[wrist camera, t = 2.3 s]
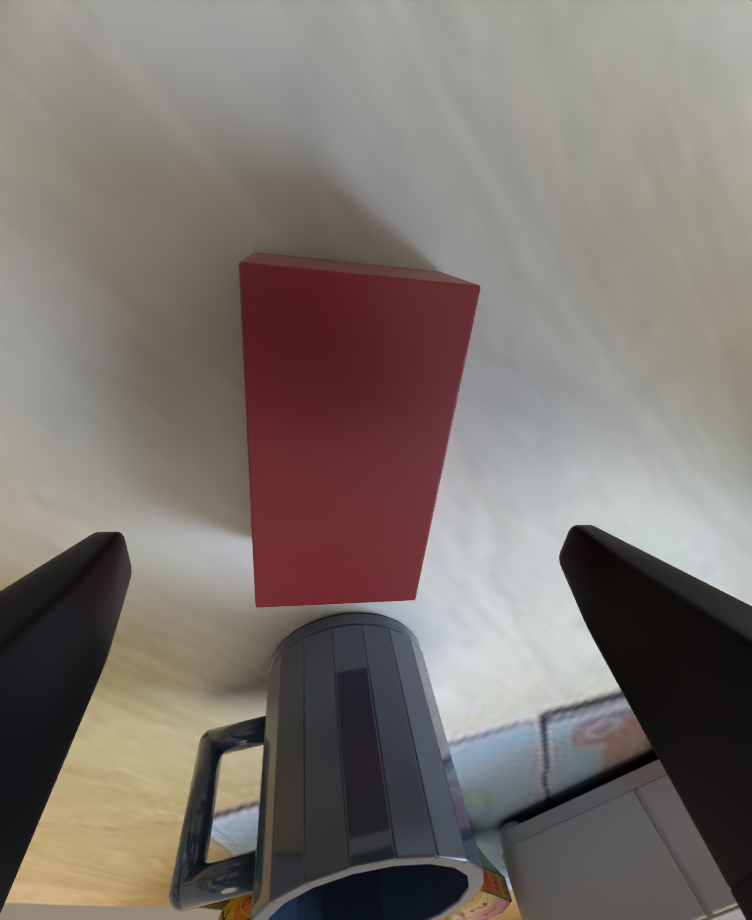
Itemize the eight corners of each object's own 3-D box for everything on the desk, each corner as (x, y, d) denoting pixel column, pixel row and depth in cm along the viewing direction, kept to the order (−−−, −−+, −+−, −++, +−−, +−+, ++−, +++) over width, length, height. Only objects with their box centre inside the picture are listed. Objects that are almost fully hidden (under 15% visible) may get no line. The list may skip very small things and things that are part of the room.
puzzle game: (518, 920, 28) (288, 1017, 31) (490, 832, 32) (290, 927, 35) (429, 891, 22) (161, 1013, 26) (409, 788, 26) (180, 906, 30)
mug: (411, 596, 18) (480, 832, 11) (426, 690, 21) (486, 913, 14) (178, 650, 17) (95, 936, 10) (234, 738, 21) (201, 992, 14)
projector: (486, 826, 31) (536, 991, 24) (772, 691, 27) (925, 842, 21) (562, 869, 39) (616, 1002, 33) (792, 769, 35) (906, 897, 29)
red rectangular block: (254, 252, 11) (238, 261, 8) (441, 271, 11) (481, 286, 9) (263, 542, 15) (255, 608, 13) (397, 540, 16) (415, 600, 13)
